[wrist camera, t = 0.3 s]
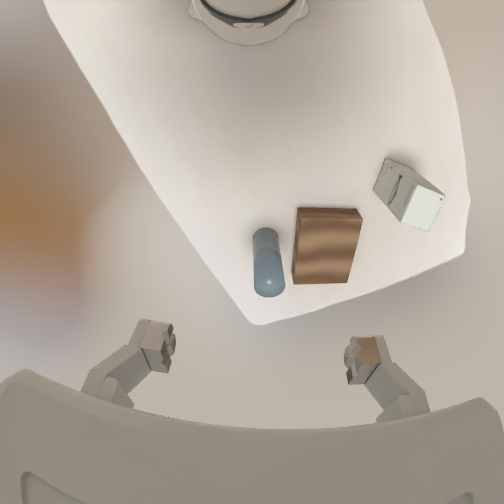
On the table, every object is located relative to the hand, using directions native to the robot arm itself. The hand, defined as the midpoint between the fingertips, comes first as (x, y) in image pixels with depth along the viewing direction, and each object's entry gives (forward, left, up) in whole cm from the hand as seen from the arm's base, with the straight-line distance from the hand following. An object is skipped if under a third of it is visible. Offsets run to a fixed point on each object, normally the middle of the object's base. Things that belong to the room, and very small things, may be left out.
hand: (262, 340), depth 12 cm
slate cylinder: (+20, +2, -39) cm, 44 cm away
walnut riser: (+21, +14, -39) cm, 47 cm away
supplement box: (+6, +27, -39) cm, 48 cm away
